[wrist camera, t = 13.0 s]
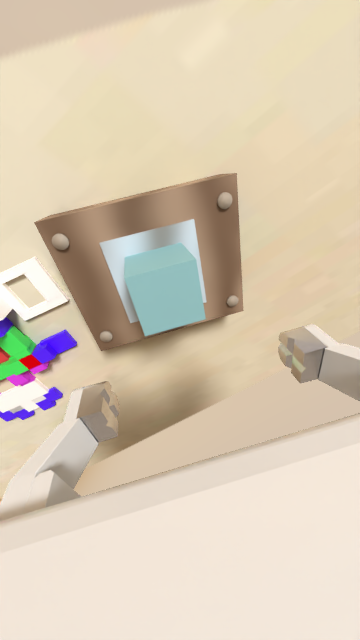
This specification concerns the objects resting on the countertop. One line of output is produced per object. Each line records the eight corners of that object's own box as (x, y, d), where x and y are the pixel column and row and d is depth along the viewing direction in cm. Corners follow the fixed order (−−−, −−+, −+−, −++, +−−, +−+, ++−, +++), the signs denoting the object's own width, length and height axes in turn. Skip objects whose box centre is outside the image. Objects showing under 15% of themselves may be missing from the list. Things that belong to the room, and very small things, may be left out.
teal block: (181, 242, 19) (196, 259, 15) (190, 293, 22) (205, 319, 18) (124, 257, 19) (124, 278, 15) (141, 306, 22) (145, 336, 18)
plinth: (219, 174, 21) (238, 173, 18) (229, 295, 28) (244, 312, 25) (49, 215, 20) (32, 223, 17) (104, 330, 27) (100, 352, 24)
